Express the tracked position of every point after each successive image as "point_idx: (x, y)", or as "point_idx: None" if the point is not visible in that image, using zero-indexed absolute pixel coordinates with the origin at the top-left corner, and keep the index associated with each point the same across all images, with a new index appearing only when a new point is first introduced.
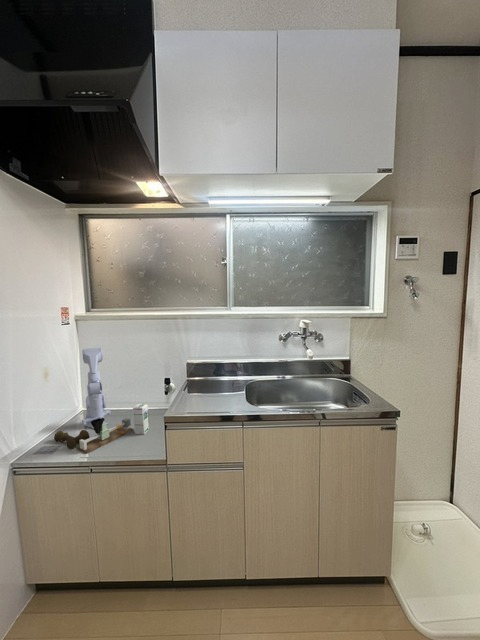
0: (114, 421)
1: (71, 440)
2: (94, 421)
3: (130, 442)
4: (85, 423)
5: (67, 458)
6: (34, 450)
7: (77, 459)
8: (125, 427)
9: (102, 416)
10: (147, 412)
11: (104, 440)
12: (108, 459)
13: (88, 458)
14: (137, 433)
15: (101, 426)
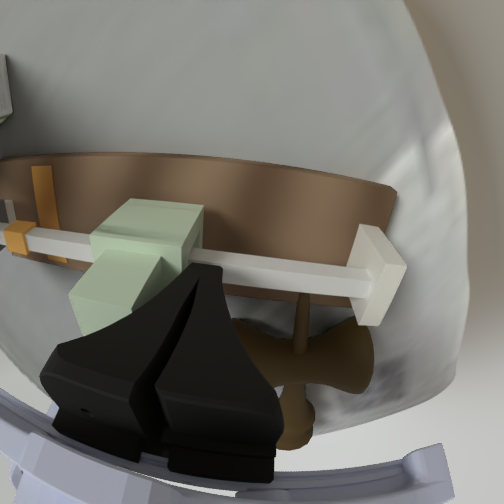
0: (37, 331)
1: (373, 366)
2: (251, 448)
3: (102, 10)
4: (430, 460)
5: (447, 259)
6: (379, 410)
7: (454, 192)
8: (7, 213)
9: (43, 482)
10: None
11: (183, 200)
12: None
13: (432, 123)
14: (8, 94)
15: (151, 301)
